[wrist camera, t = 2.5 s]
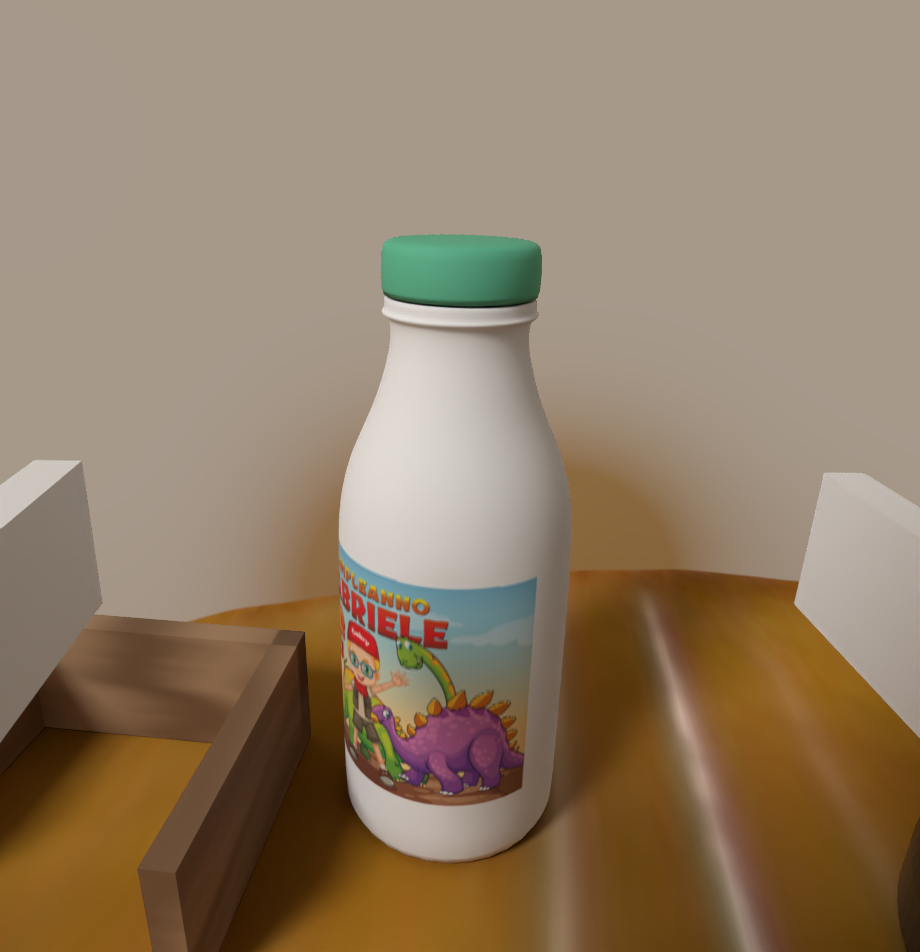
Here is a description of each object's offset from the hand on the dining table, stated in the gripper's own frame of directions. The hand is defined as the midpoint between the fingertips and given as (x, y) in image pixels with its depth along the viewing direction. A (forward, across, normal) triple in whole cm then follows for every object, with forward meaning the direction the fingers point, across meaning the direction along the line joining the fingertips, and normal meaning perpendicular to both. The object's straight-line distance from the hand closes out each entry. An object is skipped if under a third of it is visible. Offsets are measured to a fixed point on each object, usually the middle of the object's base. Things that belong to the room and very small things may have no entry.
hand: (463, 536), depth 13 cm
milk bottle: (+10, +1, -16) cm, 19 cm away
